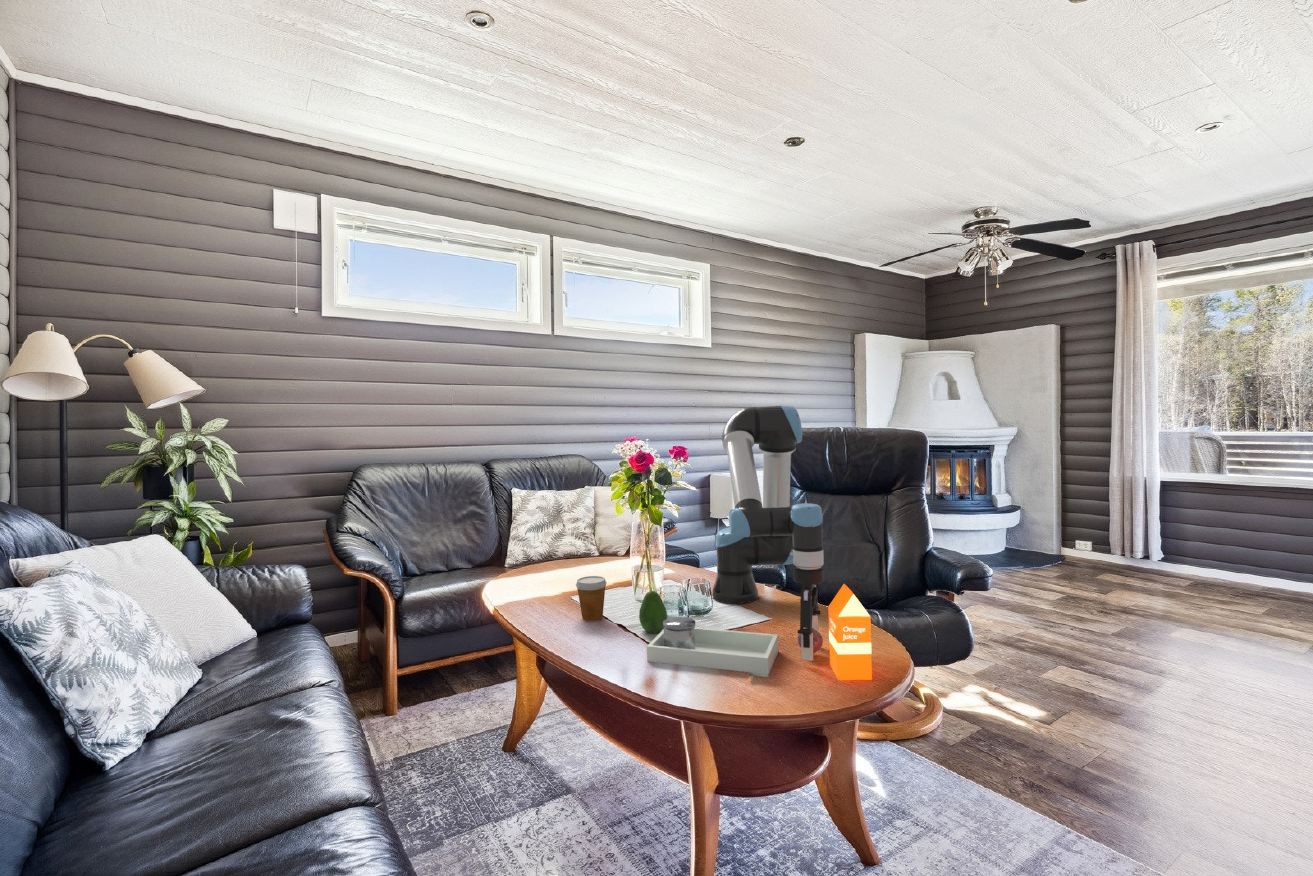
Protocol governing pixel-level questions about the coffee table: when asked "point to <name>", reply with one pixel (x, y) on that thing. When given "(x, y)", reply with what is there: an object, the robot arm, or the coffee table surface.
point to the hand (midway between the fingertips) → (810, 649)
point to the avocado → (652, 613)
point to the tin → (679, 632)
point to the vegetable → (814, 640)
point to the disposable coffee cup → (591, 597)
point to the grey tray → (721, 651)
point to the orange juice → (849, 637)
